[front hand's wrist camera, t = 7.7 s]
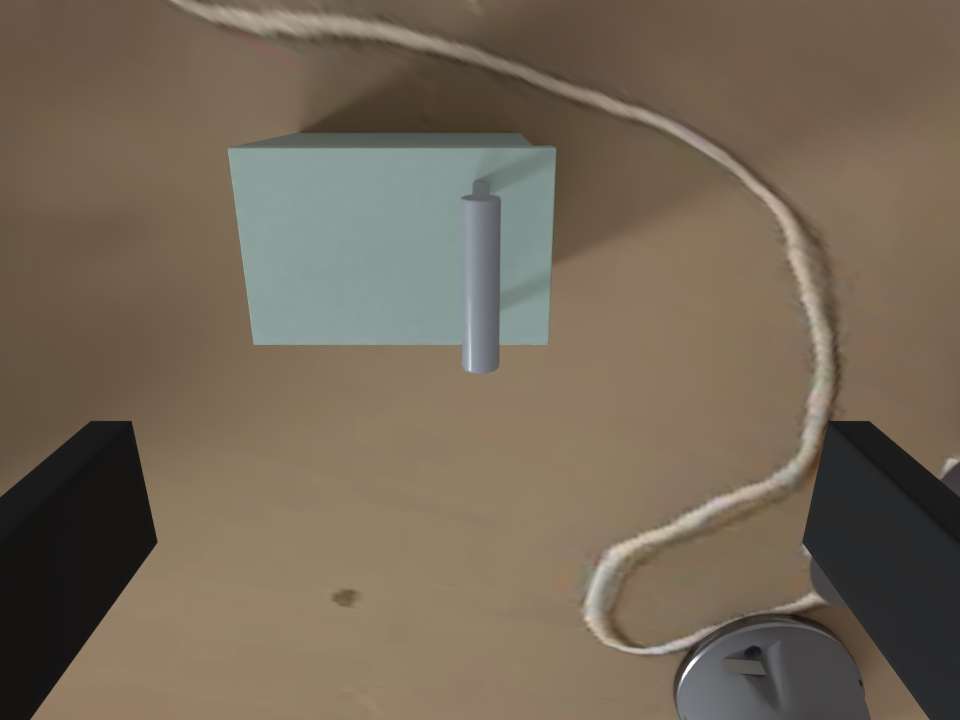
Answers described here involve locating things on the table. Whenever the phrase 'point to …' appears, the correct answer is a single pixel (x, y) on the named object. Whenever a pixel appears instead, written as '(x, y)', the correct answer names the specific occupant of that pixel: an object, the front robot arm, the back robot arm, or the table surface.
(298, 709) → the table surface
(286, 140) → the chest
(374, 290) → the lid
